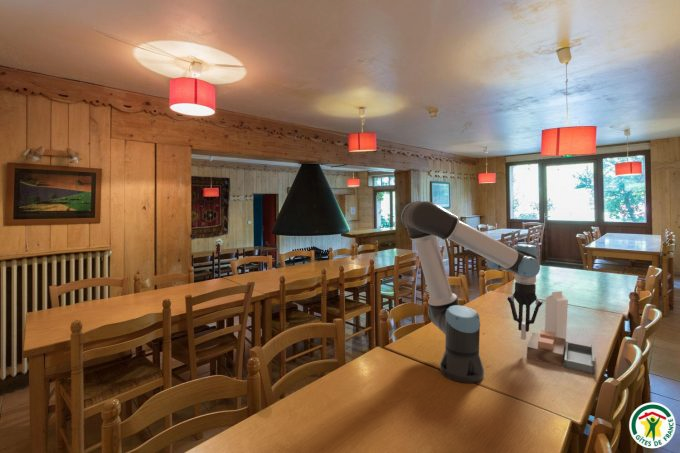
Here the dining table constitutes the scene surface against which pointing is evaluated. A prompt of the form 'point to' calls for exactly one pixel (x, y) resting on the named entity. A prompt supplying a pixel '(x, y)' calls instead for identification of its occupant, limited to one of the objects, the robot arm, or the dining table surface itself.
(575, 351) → the tray
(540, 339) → the tile
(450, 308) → the robot arm
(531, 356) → the brown flat block
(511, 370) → the dining table surface
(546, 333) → the tile
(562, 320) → the milk
